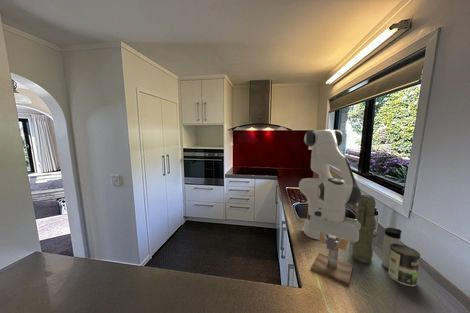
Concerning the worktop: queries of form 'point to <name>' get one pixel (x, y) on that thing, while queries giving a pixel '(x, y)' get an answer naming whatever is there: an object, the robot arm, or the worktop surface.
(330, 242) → the collar
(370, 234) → the thermos
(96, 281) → the worktop surface
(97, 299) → the worktop surface
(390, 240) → the travel mug
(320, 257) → the post base
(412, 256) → the coffee can
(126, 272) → the worktop surface
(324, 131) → the robot arm
